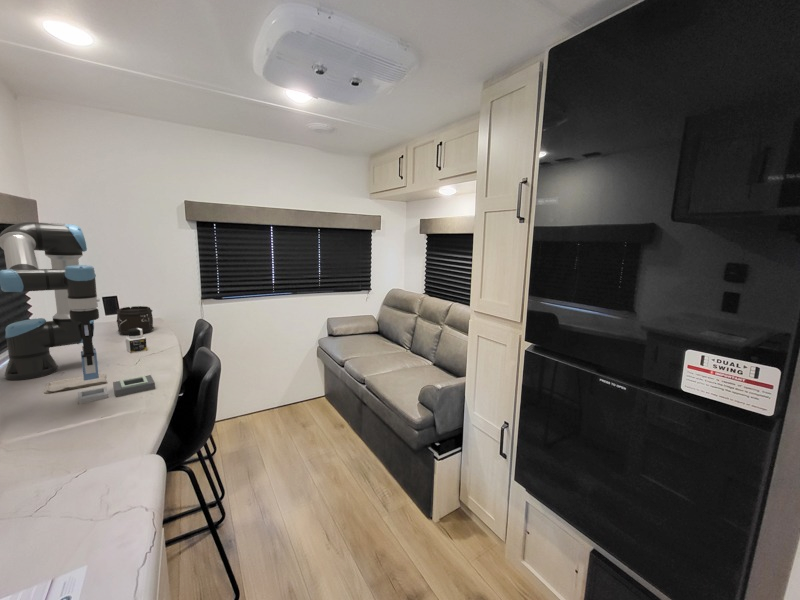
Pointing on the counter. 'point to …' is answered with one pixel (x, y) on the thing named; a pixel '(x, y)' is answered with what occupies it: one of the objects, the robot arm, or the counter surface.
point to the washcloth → (73, 383)
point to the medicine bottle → (135, 341)
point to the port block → (133, 385)
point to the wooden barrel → (134, 319)
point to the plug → (86, 376)
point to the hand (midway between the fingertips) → (90, 370)
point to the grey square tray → (92, 395)
